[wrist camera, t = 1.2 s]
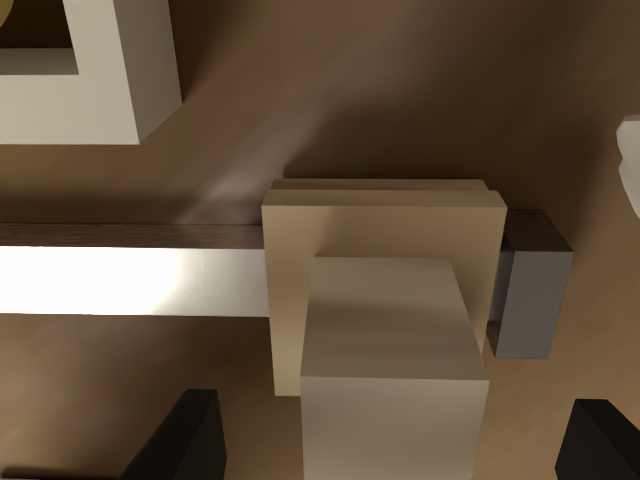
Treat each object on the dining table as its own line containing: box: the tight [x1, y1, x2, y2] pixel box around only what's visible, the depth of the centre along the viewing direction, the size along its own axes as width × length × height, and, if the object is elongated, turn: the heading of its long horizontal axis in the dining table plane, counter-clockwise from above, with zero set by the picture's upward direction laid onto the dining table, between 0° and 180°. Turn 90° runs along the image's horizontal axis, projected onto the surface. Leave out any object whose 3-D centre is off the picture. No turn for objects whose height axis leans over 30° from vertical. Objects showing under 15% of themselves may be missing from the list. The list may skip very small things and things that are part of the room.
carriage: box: [261, 179, 507, 480], centre depth 14 cm, size 6×6×7 cm
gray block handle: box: [0, 210, 574, 359], centre depth 16 cm, size 4×20×2 cm, turn 91°
